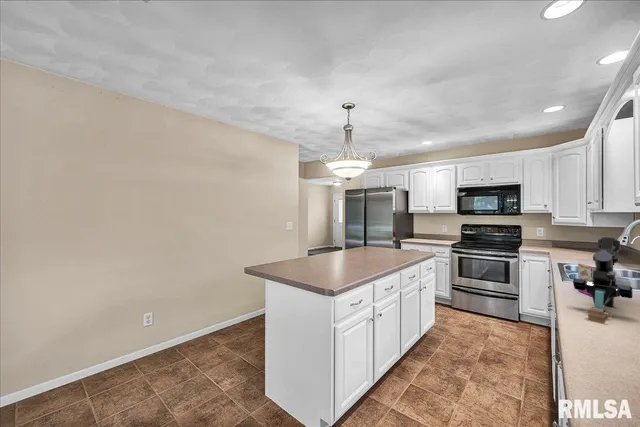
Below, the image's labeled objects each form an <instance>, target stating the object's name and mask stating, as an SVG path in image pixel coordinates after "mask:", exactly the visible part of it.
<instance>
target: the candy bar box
mask: <svg viewBox="0 0 640 427" xmlns="http://www.w3.org/2000/svg"><path fill="white" fill-rule="evenodd" d="M577 267H578V268H577V278H578V279H585V281H586V283H587V282H592V279H593V271H595V270H596V265H593V264H588V263H578V264H577ZM592 283H593V282H592ZM577 291H578V292H580V293H582V294H584V295H586V296H589V297H591V294H590V293H588V292H587V290H584V291H583V290H577Z"/></svg>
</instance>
